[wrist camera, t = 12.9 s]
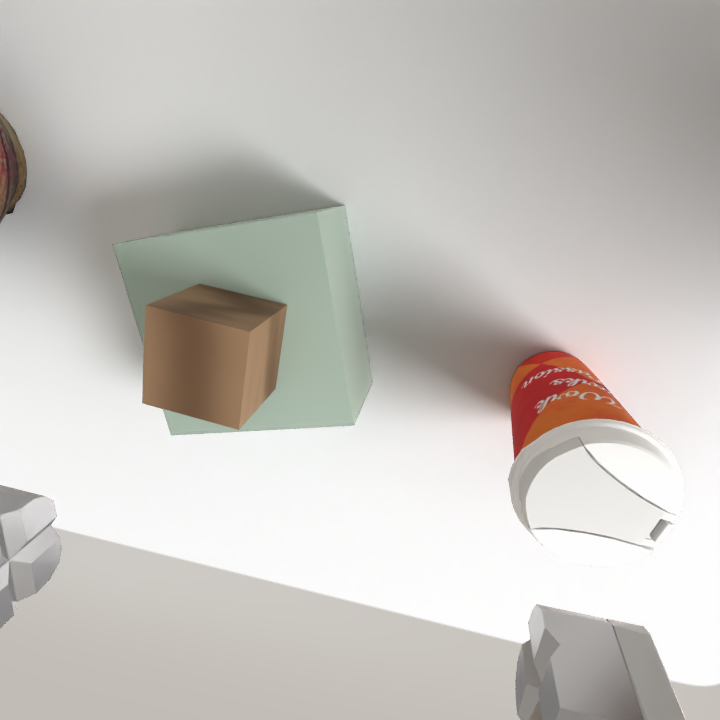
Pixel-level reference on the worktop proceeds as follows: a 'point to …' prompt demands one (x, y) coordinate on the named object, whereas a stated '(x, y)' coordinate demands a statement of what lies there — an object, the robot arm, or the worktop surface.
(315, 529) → the worktop surface
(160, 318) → the walnut block
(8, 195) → the ceramic jug
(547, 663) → the robot arm
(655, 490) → the coffee cup
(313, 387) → the sage box
